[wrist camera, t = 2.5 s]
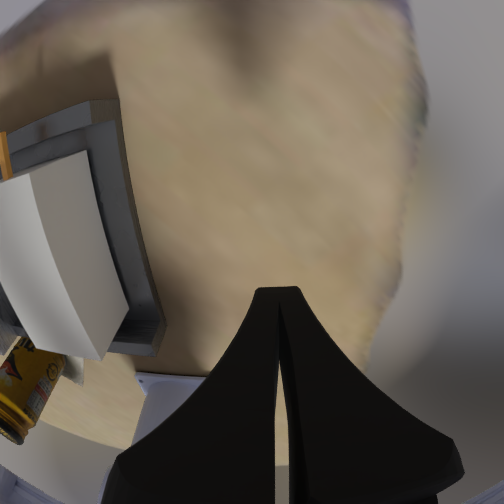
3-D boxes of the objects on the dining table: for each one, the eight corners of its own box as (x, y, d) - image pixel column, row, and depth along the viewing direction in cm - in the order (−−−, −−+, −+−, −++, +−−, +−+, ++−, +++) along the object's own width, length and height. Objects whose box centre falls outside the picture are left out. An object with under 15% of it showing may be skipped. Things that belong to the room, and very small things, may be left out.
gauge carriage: (129, 308, 19) (101, 360, 14) (67, 305, 19) (36, 348, 15) (80, 108, 12) (20, 118, 8) (16, 134, 13) (-38, 153, 8)
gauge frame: (167, 325, 21) (144, 388, 15) (17, 312, 22) (-12, 349, 16) (119, 97, 13) (52, 101, 8) (-35, 163, 14) (-81, 186, 9)
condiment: (20, 314, 22) (-37, 395, 11) (84, 352, 23) (36, 451, 13) (27, 351, 25) (-15, 423, 15) (83, 384, 27) (48, 466, 16)
